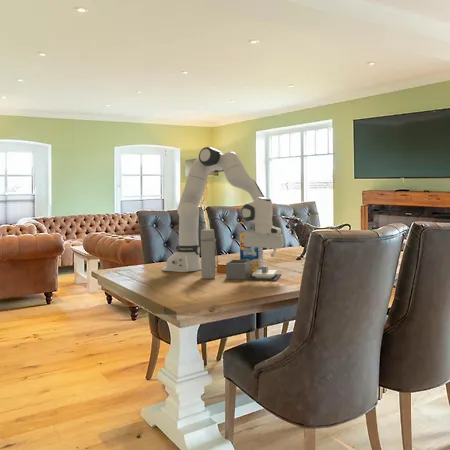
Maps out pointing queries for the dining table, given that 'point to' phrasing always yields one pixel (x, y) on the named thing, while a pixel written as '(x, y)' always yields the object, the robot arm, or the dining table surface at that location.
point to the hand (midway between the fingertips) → (263, 256)
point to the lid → (264, 272)
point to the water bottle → (208, 253)
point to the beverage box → (251, 254)
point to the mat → (265, 278)
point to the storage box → (238, 269)
